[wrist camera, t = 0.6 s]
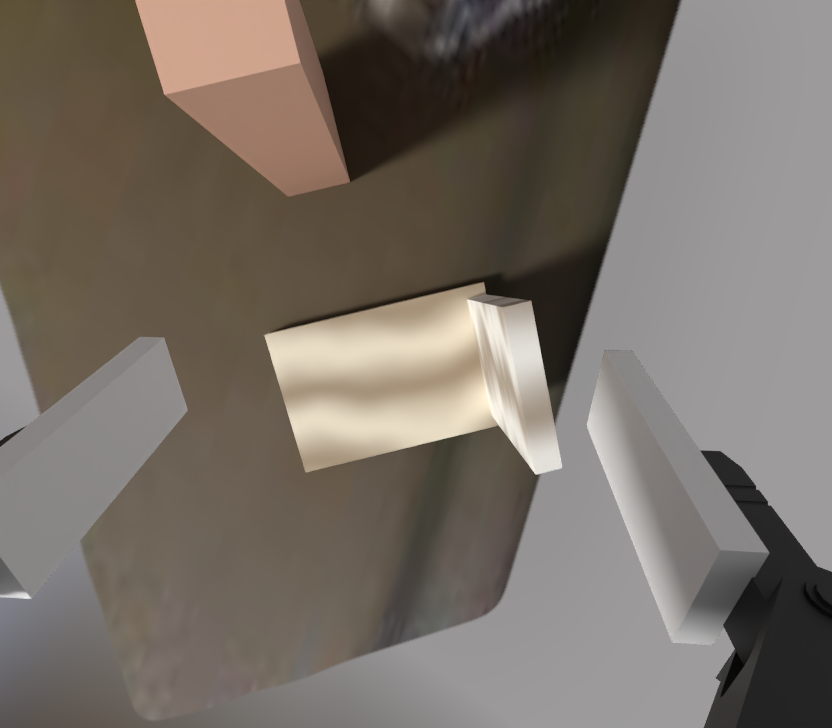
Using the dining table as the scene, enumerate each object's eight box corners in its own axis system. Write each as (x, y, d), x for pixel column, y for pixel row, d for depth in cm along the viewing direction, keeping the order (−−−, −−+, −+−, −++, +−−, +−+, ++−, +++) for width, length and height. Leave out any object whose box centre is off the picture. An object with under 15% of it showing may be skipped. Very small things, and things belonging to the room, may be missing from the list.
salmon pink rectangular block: (258, 88, 35) (83, -167, 15) (323, 73, 35) (233, -201, 15) (288, 196, 36) (164, 94, 16) (350, 182, 36) (300, 63, 16)
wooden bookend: (269, 332, 38) (203, 360, 25) (480, 282, 38) (527, 282, 25) (308, 465, 40) (267, 556, 27) (507, 416, 40) (565, 483, 27)
